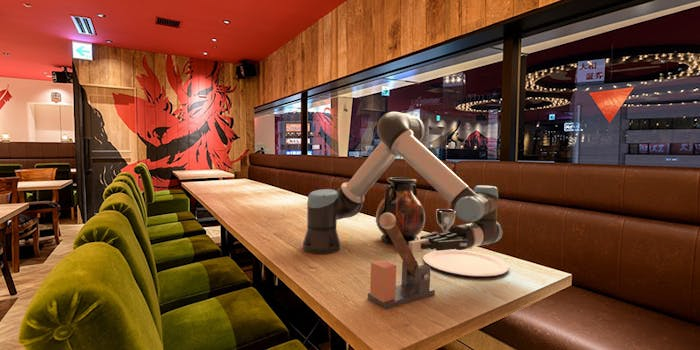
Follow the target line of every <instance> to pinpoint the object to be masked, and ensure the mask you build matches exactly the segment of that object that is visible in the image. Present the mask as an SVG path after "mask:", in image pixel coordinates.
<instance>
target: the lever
mask: <svg viewBox="0 0 700 350" xmlns="http://www.w3.org/2000/svg"><path fill="white" fill-rule="evenodd" d="M379 223H380V225H381V226H382V227H383V228H384V229H385V230H386V231H387V233H388V235H389V237H390V239H391V240H392V242H393V244H394V245H393V246H394V247H395V250H396V251H397V253H398V255H399V257H400V259H401V260H402V262H404V264H405V266H406V267H407V269H408V271H409V273H410V275H411V276H412V277H413V278H415V267H416V266H420V265H419V263H418V261H417V260H416V258H415V256H414V254H413V252H411V250H410V249H409V245H407V243H406V241H405V239H404V237H403V236H402V234H401V232H400V230H399V228H398V226H397V224H396V218H395V216H394V215H393V214H392V213H389V212H386V213H383V214H382V215H381V216H380V219H379ZM416 261H417V262H416Z"/></svg>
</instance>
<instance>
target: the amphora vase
mask: <svg viewBox="0 0 700 350" xmlns="http://www.w3.org/2000/svg"><path fill="white" fill-rule="evenodd" d="M386 181H387V182H388V183H390V184H388V185H387V186H386V187H385V190H384V198H382V200H381V201H380V203H379V204H378V207H377V209H376V212H375V213H376V214H375V223H376V226H377V229H379V231H380V232H381V233H382V235H381V236H380V240H381V241H382V242H384V243H386V244H388V245H393V246H394V244H393V242H392V240H391V239H390V237H389V235H388V233H387V231H386V230H385V229H384V228H383V227H382V226H381V225H380V223H379V219H380V216H381V215H382V214H383V213H386V212H389V213H392V214H393V215H394V216H395V218H396V224H397V226H398V228H399V230H400V232H401V234H402V236H403V237H404V239H405V241H406V243H407V245H408V246H409V242H410V241H415V240H419V237H418V235H419V234H421V232H422V231H423V230H424V227H425V223H426V215H425V214H426V213H425V210H424V206H423V204H422V203H421V201H420V200H419V198H418V189H417V186H416V184H415V183H417V181H418V180H417V179H416V178H413V177H403V176H401V177H398V176H397V177H388V178H387V179H386Z"/></svg>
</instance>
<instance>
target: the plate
mask: <svg viewBox="0 0 700 350" xmlns="http://www.w3.org/2000/svg"><path fill="white" fill-rule="evenodd" d="M422 261H424V263H425V265H428V266H430V267H431V268H433V269H436V270H438V271H440V272H444V273H448V274H452V275H458V276H463V277H470V278H471V277H473V278H492V277H497V276H502V275H504V274H506V273H508V271H509V269H510V267H509V266H508V264H507V263H506V262H504V261H503V260H501V259H499V258H497V257H494V256H492V255H489V254H485V253H481V252H477V251H469V250H456V249H451V250H440V251H437V250H433V251H430V252H427V253H426V254H424V255H423V259H422Z"/></svg>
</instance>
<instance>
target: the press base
mask: <svg viewBox="0 0 700 350" xmlns="http://www.w3.org/2000/svg"><path fill="white" fill-rule="evenodd" d="M416 262H417V263H418V261H417V260H416ZM401 263H402V264H401V283H400V284H398V285H396V289H395V299H394V300H390V301H387V302H382V301H380V300H378V299H377V298H375V297H373V296H372V295H370V292H369V293H367V300H369V301H371V302H372V303H374V304H375V305H377V306H379V307H381V308H382V309H384V310H389V309H392V308H394V307H395V308H396V307H399V306H402V305H406V304H408V303H413V302H415V301H419V300H422V299H426V298H429V297H432V296H435V294H436V289H435V288H432V287H430V284H431V283H430V282H431V268H432V267H431V266H429V265H428V264H423V265H422V264H421V265H419V266H416V267H415V278H413V277H412V276H411V275H410V273H409V271H408V269H407V267H406V266H405V264H404V262H403V261H401Z"/></svg>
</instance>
